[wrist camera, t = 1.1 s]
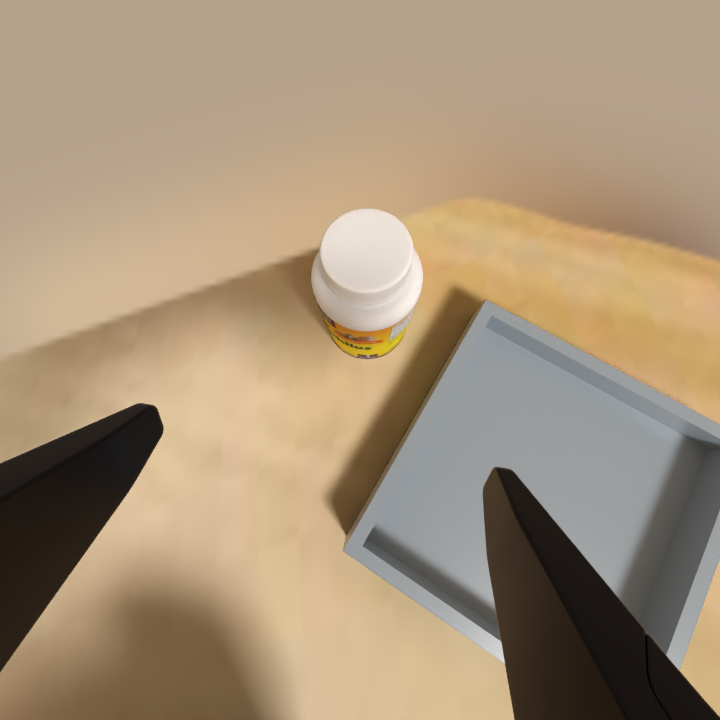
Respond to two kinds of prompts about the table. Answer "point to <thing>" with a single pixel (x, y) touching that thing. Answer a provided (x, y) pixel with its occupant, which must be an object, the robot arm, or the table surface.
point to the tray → (548, 482)
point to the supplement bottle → (366, 281)
